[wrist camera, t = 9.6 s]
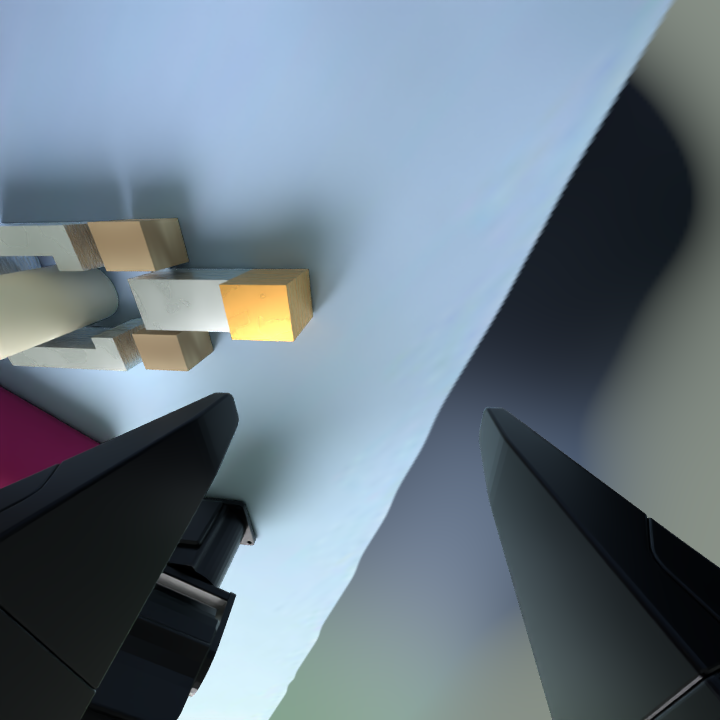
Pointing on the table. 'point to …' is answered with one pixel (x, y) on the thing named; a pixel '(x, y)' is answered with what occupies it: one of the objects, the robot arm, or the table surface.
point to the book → (33, 439)
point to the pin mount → (152, 253)
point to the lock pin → (226, 301)
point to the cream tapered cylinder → (50, 305)
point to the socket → (71, 253)
